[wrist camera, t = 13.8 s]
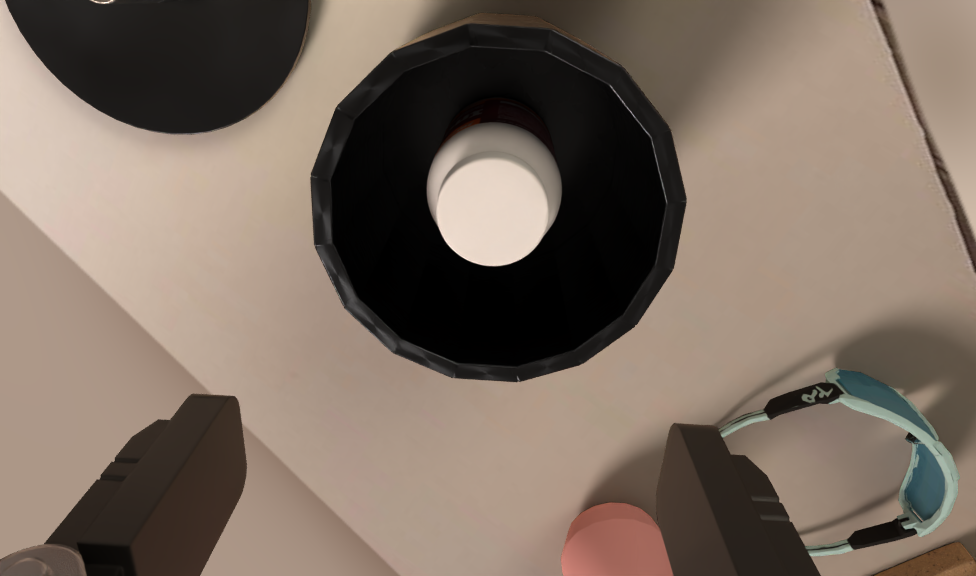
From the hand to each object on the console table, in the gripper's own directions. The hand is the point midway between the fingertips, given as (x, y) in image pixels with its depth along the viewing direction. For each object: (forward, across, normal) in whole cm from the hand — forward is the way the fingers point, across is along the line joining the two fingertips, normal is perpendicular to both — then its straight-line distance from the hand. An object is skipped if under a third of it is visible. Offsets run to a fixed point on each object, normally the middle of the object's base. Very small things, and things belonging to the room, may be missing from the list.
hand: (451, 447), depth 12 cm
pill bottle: (+27, -1, +1) cm, 27 cm away
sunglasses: (+27, -24, +21) cm, 42 cm away
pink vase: (+27, -11, +28) cm, 40 cm away
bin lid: (+27, +17, -7) cm, 33 cm away
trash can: (+27, -1, +1) cm, 27 cm away
